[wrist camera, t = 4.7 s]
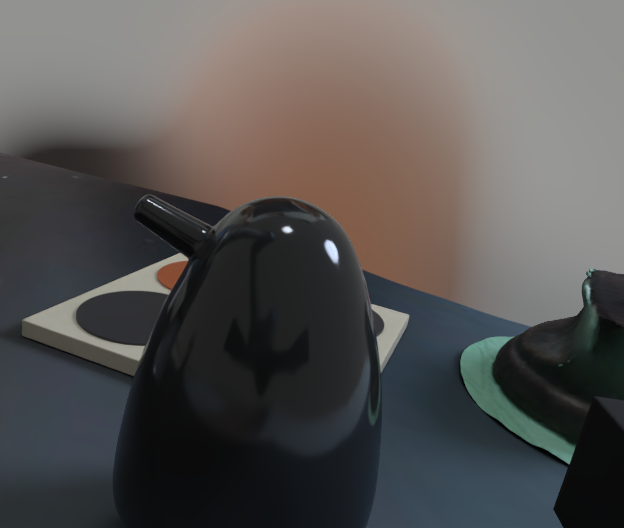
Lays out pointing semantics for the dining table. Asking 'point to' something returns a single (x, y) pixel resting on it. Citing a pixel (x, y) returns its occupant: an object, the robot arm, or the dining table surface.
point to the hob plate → (144, 319)
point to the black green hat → (553, 369)
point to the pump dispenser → (254, 378)
